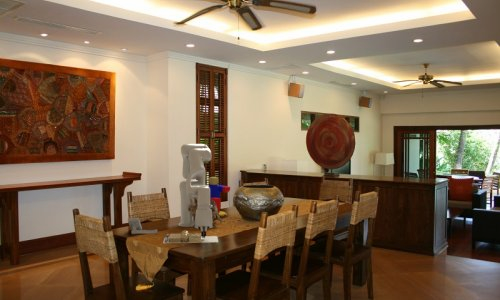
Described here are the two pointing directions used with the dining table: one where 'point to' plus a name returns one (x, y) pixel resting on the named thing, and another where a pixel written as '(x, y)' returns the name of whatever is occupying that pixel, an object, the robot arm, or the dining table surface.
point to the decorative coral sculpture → (214, 208)
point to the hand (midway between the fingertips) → (203, 237)
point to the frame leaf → (179, 237)
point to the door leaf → (194, 237)
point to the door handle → (138, 227)
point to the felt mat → (206, 239)
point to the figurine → (217, 193)
